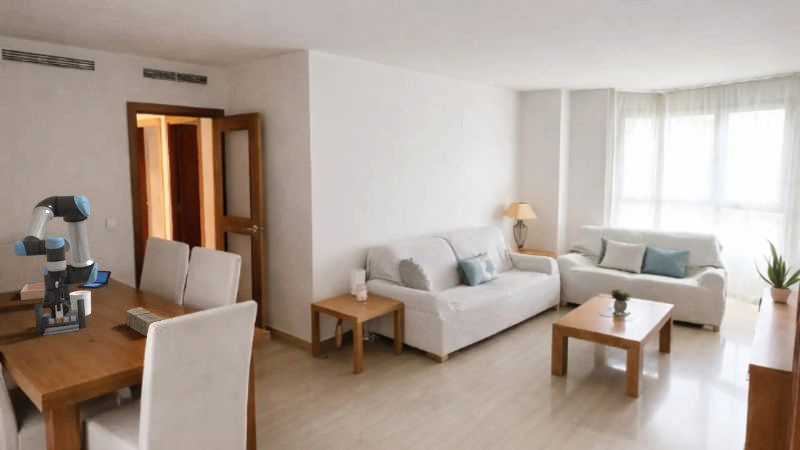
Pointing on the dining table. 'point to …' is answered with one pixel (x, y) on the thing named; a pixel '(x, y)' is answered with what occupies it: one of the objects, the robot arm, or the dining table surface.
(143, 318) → the block tower
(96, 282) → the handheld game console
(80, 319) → the post
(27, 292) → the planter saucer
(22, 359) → the dining table surface
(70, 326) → the mat
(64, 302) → the black rounded block
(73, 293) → the candle holder
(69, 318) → the breaker panel
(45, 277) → the robot arm
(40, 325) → the post
